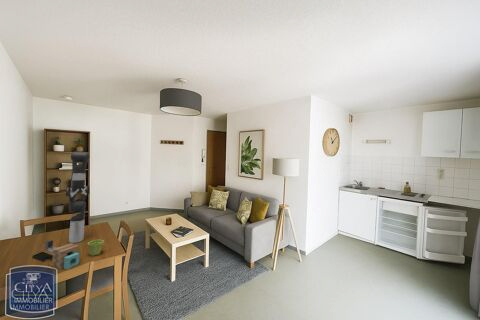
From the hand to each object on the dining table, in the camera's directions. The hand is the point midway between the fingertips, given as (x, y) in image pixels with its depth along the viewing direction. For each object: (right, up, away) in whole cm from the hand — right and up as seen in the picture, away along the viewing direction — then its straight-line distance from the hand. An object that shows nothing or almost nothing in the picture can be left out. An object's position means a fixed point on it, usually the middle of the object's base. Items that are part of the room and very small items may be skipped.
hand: (77, 201), depth 143 cm
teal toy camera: (+10, -39, -17) cm, 44 cm away
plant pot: (+13, -39, 0) cm, 41 cm away
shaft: (-4, -32, -12) cm, 34 cm away
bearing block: (+5, -38, -15) cm, 41 cm away
